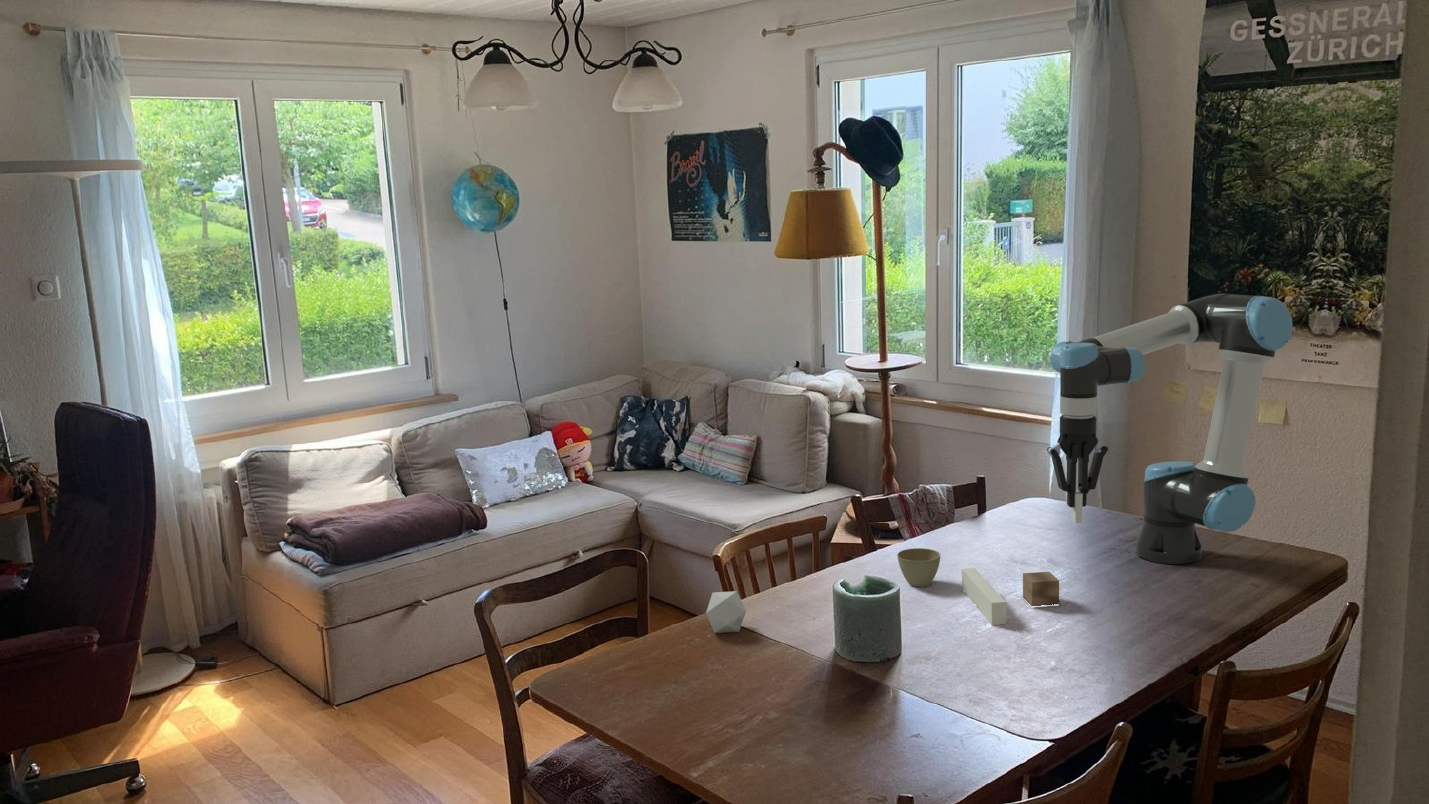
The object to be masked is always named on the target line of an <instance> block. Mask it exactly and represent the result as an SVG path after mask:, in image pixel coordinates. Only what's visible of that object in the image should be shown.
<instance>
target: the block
mask: <svg viewBox="0 0 1429 804" xmlns="http://www.w3.org/2000/svg"><path fill="white" fill-rule="evenodd" d="M1023 598H1024V599H1025V600H1026V601H1027V602H1028V603H1029V604H1030V605H1031V606H1041V605H1052V604H1053V605H1054V604H1059V605H1060V580H1059V579H1058V578H1057V577H1056V576H1055V575H1054V574H1053V573H1051V572H1050V571H1039V572H1036V571H1035V572H1026V573H1022V599H1023ZM1024 599H1023V600H1024ZM1025 600H1024V601H1025ZM1026 601H1025V602H1026ZM1027 602H1026V603H1027ZM1028 603H1027V604H1028ZM1029 604H1028V605H1029Z"/></svg>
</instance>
